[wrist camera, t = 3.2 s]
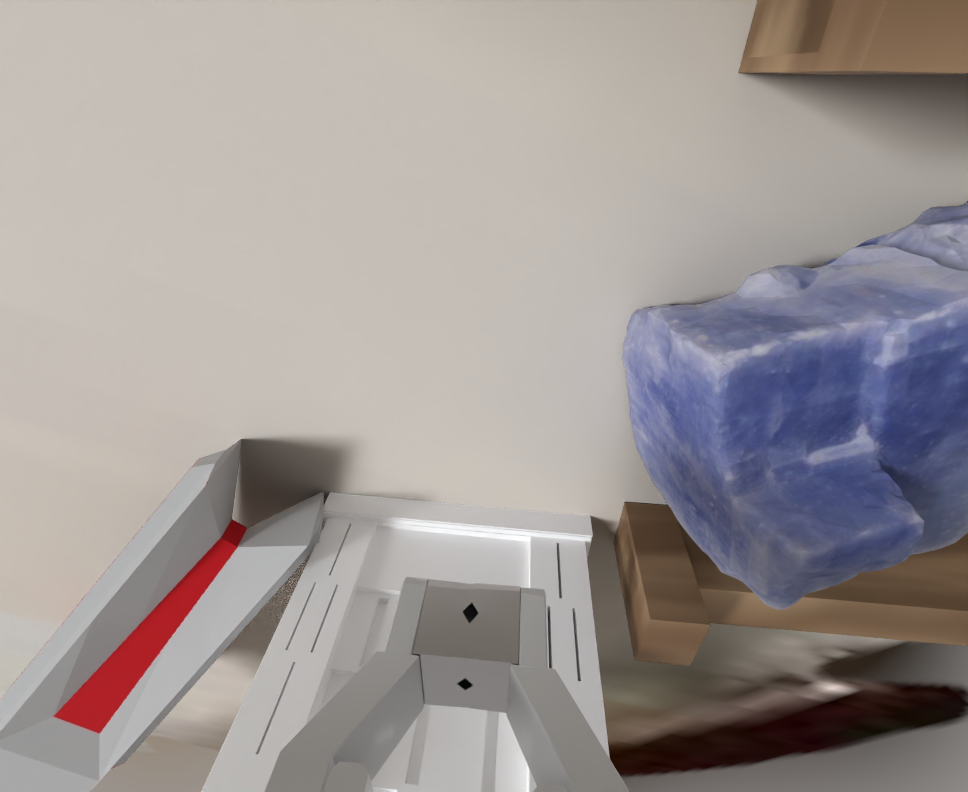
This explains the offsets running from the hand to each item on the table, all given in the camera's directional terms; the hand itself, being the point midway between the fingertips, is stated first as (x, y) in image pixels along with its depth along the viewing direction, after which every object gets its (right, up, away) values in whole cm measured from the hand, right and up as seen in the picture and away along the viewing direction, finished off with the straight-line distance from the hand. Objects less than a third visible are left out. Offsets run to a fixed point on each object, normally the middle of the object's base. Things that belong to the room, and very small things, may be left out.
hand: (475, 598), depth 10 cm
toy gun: (-20, -7, +21) cm, 30 cm away
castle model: (-1, -7, +20) cm, 21 cm away
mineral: (+13, +7, +9) cm, 17 cm away
